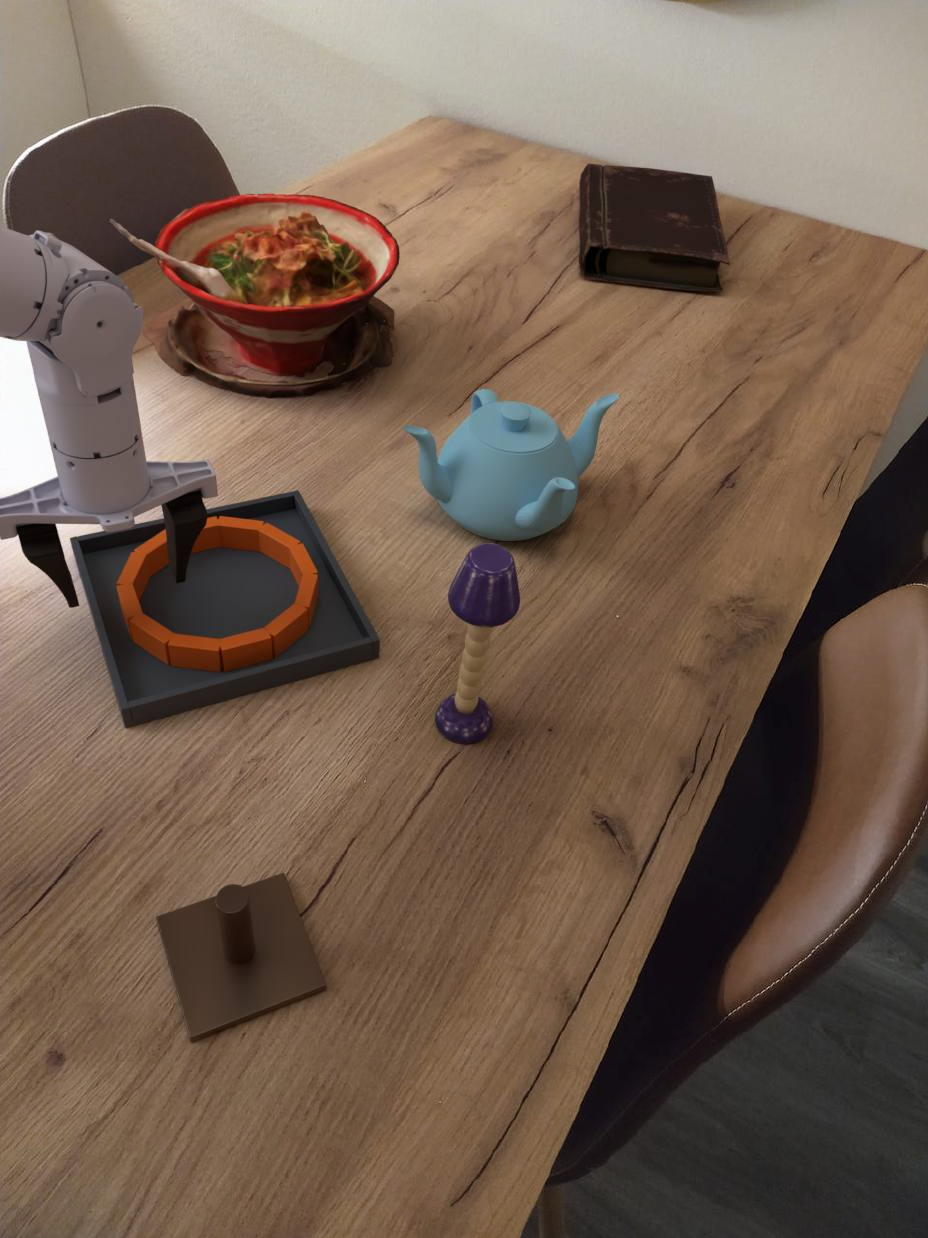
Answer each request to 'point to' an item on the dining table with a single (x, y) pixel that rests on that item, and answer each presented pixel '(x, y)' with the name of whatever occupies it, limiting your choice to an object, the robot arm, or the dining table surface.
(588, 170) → the diary
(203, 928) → the stand
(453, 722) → the toy lamp
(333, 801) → the dining table surface
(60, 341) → the robot arm
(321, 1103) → the dining table surface
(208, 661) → the ring
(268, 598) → the tray
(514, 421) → the teapot
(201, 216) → the stew
